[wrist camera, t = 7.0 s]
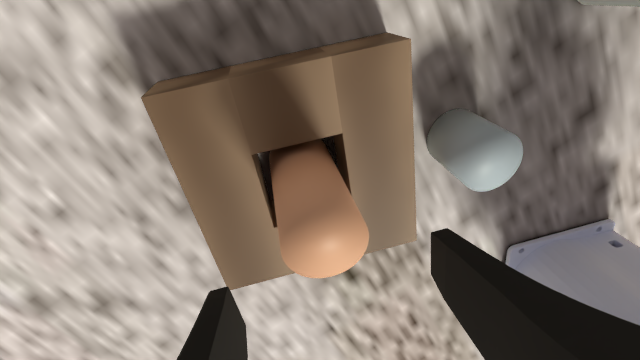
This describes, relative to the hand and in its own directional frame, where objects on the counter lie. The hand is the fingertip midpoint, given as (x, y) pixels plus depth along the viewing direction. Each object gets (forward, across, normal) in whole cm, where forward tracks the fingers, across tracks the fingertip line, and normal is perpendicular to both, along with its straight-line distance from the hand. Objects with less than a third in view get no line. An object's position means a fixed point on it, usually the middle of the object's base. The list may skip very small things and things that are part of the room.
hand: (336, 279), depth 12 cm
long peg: (+10, 0, 0) cm, 10 cm away
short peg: (+10, -10, +1) cm, 14 cm away
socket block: (+10, 0, 0) cm, 10 cm away
